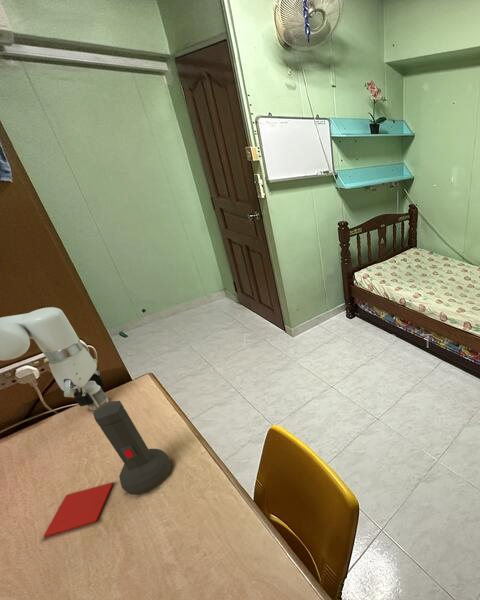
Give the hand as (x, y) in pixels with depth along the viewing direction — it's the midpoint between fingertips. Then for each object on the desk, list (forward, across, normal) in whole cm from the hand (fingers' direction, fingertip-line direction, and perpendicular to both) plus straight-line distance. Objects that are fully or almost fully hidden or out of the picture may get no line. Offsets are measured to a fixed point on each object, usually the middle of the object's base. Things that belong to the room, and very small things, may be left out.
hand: (93, 395), depth 96 cm
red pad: (+4, +36, +10) cm, 38 cm away
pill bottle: (+4, 0, 0) cm, 4 cm away
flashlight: (+4, +32, +22) cm, 39 cm away
